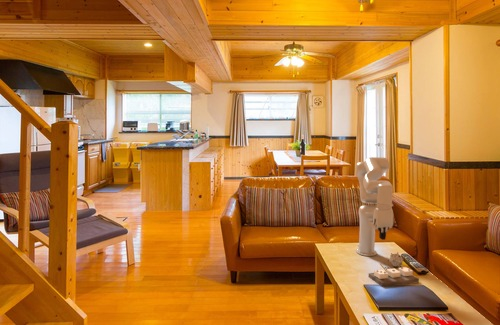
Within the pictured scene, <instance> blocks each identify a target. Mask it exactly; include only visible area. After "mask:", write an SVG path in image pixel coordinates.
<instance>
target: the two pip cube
mask: <svg viewBox="0 0 500 325" xmlns="http://www.w3.org/2000/svg"><path fill="white" fill-rule="evenodd" d="M397 270H398V271H400V272H401V274H402V275H403V276H411V275H413V276H414V274H413V271H414V270H412V269H410V268H409V267H407V266H403V267H398V269H397Z"/></svg>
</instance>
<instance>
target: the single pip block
mask: <svg viewBox="0 0 500 325" xmlns="http://www.w3.org/2000/svg"><path fill="white" fill-rule="evenodd" d="M385 272H387V273H388V275H389V276H390V277H392V278H394V277H400V276H401V272H400V271H398V269H396V267H395V268H394V267H393V268H386V270H385Z"/></svg>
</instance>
